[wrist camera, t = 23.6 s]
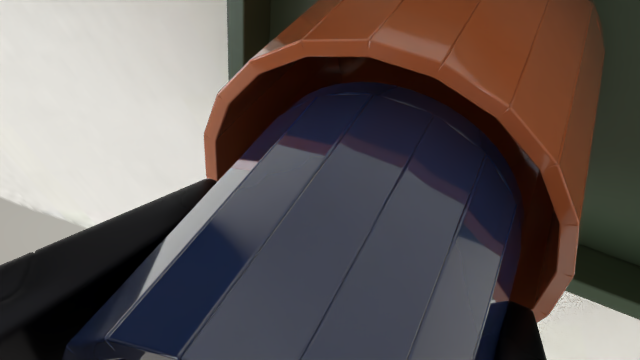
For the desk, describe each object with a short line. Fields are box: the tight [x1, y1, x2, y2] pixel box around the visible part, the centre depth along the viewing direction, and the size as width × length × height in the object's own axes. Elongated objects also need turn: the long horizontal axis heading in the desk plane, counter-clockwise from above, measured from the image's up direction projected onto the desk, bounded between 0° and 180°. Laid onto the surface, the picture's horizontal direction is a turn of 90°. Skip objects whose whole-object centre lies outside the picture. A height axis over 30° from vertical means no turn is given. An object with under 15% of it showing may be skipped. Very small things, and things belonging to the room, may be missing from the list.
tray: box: [227, 0, 640, 320], centre depth 15 cm, size 15×12×2 cm
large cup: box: [204, 0, 605, 323], centre depth 13 cm, size 7×7×7 cm
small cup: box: [62, 82, 524, 360], centre depth 9 cm, size 5×5×6 cm
